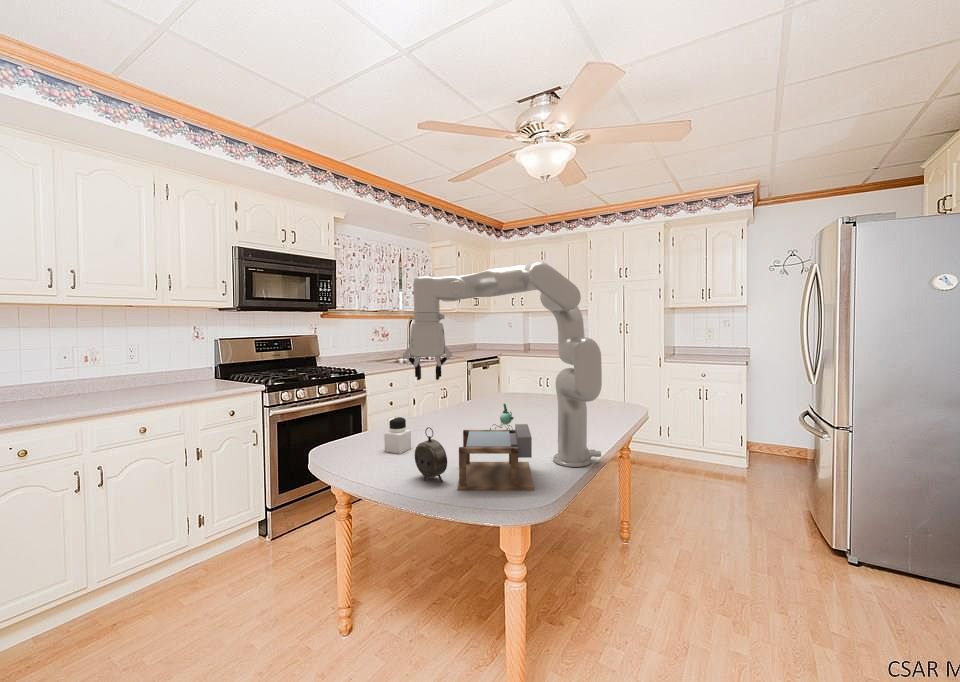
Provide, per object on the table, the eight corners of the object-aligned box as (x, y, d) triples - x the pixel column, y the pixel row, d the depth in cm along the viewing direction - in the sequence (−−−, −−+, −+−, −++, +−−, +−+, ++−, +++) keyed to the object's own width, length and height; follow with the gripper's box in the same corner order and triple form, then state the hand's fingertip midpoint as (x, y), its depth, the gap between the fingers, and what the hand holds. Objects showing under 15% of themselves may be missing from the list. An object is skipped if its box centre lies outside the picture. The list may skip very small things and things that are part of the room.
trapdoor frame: (528, 464, 148) (528, 429, 147) (534, 490, 127) (534, 449, 126) (462, 464, 149) (462, 429, 148) (457, 490, 128) (456, 449, 127)
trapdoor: (527, 441, 145) (527, 423, 145) (531, 458, 129) (531, 437, 129) (469, 441, 146) (469, 423, 145) (466, 458, 130) (466, 437, 129)
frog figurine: (479, 435, 184) (482, 399, 183) (521, 437, 187) (524, 402, 187) (483, 441, 174) (487, 404, 174) (527, 443, 178) (531, 407, 177)
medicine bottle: (411, 448, 167) (410, 417, 166) (400, 454, 160) (399, 421, 159) (395, 446, 170) (395, 415, 169) (384, 451, 163) (383, 419, 162)
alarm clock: (448, 481, 134) (447, 428, 133) (435, 487, 130) (434, 432, 129) (425, 472, 142) (424, 422, 141) (411, 477, 138) (410, 426, 137)
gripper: (456, 318, 136) (457, 377, 137) (401, 318, 136) (402, 377, 137) (454, 318, 128) (455, 381, 129) (395, 319, 129) (397, 381, 130)
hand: (428, 378), depth 133 cm, fingers open, 4 cm apart
